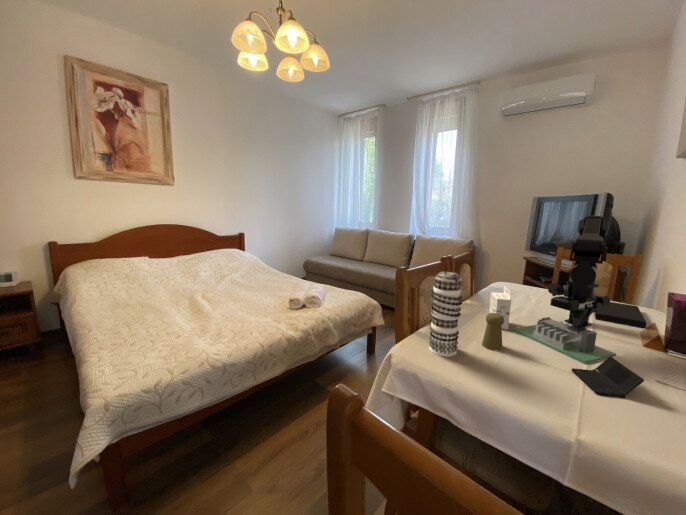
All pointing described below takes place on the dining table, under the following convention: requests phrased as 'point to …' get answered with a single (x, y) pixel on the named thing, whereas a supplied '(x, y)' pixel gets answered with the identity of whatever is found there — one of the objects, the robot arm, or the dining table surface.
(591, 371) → the handheld gaming console
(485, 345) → the cork
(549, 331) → the heat sink
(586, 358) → the circuit board
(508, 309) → the ink cartridge box
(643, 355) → the dining table surface
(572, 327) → the retention strap
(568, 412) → the dining table surface
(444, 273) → the decorative candle
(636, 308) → the external hard drive
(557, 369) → the dining table surface
